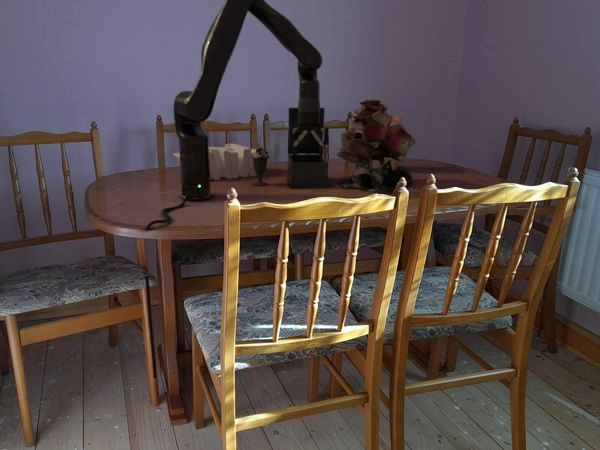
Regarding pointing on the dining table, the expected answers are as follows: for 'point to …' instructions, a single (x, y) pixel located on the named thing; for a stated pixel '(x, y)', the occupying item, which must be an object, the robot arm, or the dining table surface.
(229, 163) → the wavy white extrusion
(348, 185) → the rose bouquet
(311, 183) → the chest
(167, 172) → the dining table surface
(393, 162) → the cracker box
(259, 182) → the sundae
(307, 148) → the lid
